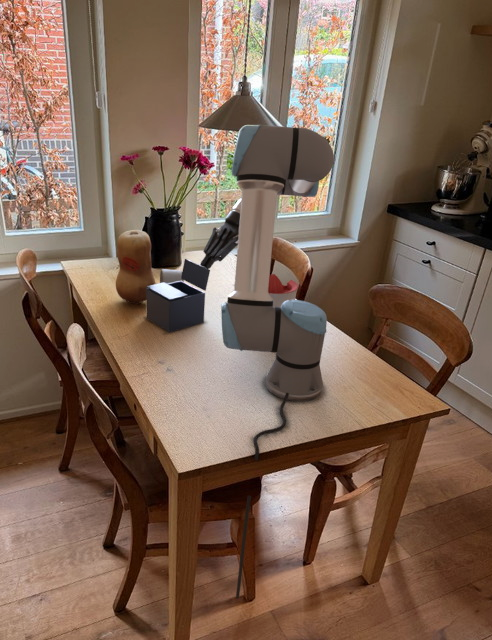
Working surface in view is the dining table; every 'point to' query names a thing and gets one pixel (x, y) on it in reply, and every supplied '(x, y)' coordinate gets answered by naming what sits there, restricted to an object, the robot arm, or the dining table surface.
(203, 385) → the dining table surface
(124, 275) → the butternut squash
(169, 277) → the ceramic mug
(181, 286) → the carton
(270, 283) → the citrus juicer
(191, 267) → the flap
